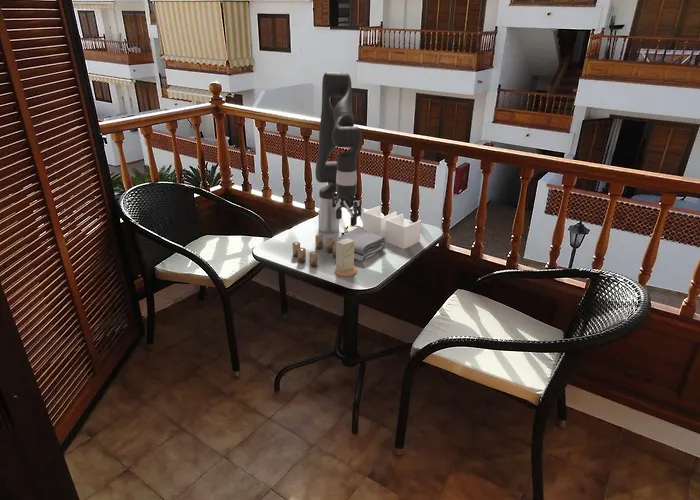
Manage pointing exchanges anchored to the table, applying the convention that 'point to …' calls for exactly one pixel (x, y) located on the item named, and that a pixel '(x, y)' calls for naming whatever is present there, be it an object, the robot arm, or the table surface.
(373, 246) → the towel
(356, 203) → the robot arm
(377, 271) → the table surface
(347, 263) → the skincare box
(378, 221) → the storage container
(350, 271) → the tan oval piece
